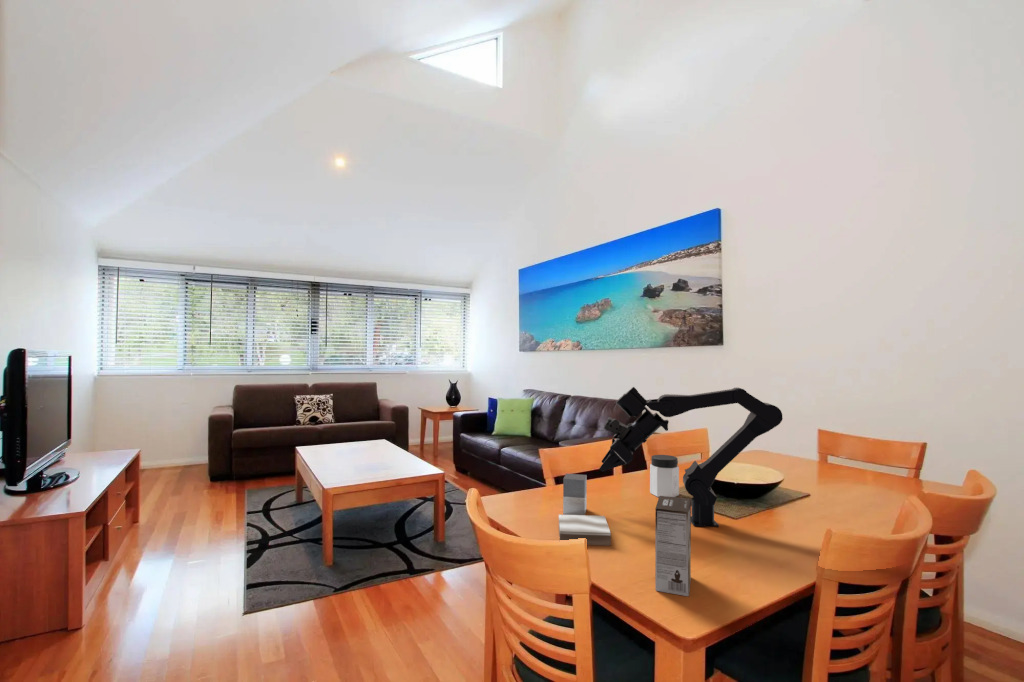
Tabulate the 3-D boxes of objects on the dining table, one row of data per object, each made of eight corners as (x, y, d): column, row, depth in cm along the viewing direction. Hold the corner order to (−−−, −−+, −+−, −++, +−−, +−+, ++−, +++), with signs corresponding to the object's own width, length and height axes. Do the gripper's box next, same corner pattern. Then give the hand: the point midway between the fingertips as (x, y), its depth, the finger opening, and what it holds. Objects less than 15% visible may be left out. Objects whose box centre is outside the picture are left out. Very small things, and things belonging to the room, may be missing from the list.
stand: (610, 545, 115) (610, 532, 115) (559, 543, 116) (560, 531, 116) (604, 527, 127) (604, 515, 127) (558, 525, 128) (558, 514, 128)
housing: (586, 509, 142) (586, 475, 142) (584, 516, 136) (584, 480, 136) (566, 507, 143) (566, 473, 143) (563, 514, 137) (563, 478, 137)
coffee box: (658, 571, 102) (658, 494, 102) (691, 576, 99) (691, 498, 100) (654, 591, 93) (654, 507, 94) (690, 597, 91) (690, 511, 91)
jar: (669, 500, 151) (669, 461, 151) (645, 494, 157) (646, 457, 157) (682, 494, 157) (682, 457, 158) (660, 489, 163) (660, 453, 163)
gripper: (621, 404, 146) (584, 439, 148) (620, 412, 128) (577, 451, 130) (648, 432, 144) (610, 467, 146) (650, 443, 126) (607, 483, 128)
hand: (601, 466), depth 138 cm, fingers open, 9 cm apart
